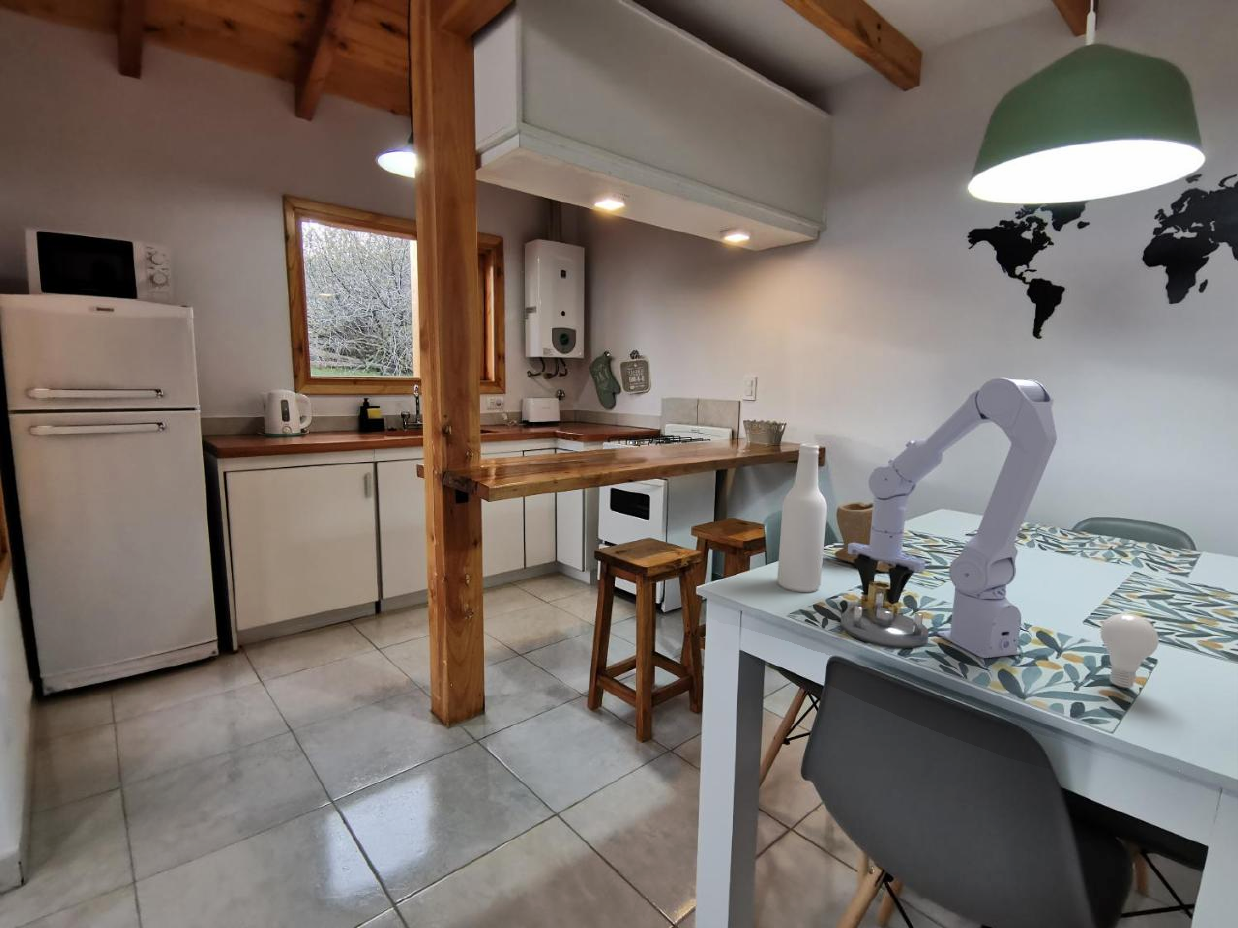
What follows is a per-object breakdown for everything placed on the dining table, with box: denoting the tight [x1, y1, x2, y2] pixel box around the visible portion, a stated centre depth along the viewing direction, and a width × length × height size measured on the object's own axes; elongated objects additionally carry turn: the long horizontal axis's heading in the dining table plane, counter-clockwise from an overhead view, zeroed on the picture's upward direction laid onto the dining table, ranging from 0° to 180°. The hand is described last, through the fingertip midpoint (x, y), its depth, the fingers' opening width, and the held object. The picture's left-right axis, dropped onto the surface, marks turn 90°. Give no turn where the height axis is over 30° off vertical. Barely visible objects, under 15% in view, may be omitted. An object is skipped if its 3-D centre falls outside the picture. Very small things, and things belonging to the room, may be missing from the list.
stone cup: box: [834, 501, 896, 573], centre depth 142 cm, size 15×12×15 cm
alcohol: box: [776, 443, 828, 593], centre depth 125 cm, size 9×9×30 cm
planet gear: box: [858, 580, 902, 614], centre depth 115 cm, size 7×7×4 cm
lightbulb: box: [1100, 612, 1159, 690], centre depth 86 cm, size 6×6×11 cm
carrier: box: [840, 593, 929, 649], centre depth 105 cm, size 14×14×5 cm
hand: (880, 598), depth 116 cm, fingers closed on planet gear, 5 cm apart
